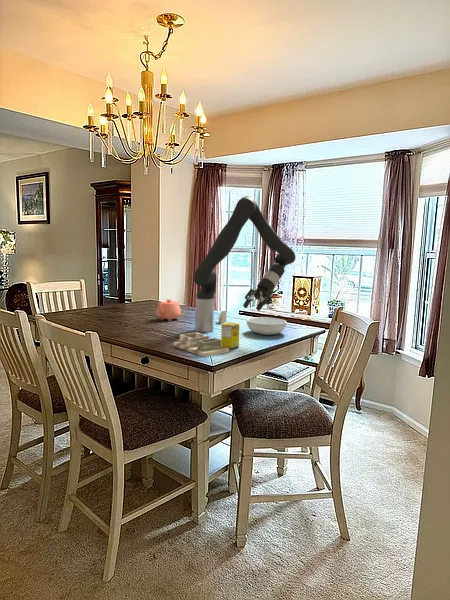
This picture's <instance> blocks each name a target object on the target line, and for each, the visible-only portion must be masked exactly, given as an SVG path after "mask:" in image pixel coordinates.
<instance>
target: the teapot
mask: <svg viewBox="0 0 450 600" xmlns="http://www.w3.org/2000/svg"><path fill="white" fill-rule="evenodd" d="M156 303H157V309H156V311H157V312H156V315H157V318H159V319H162V320H161V321H164V320H167V322H172V320H174V319H178V318H180V317H181V314H182V312H181V311H182V310H181V306H180V302H179V301H172V298H171V299H170V298H168V299H166V301H160V302H156Z"/></svg>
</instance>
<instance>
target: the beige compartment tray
mask: <svg viewBox="0 0 450 600" xmlns="http://www.w3.org/2000/svg"><path fill="white" fill-rule="evenodd" d="M178 337H179V340H178V341H173V346H174V347H176V348H178V349H180V350H181V349H182V350H184V351H187V352H190V353H192V354H194V355H197V356H199V357H203V358H205V357H210V356H214V355H219V354H224V353H229V352H230V349H229V348H227V347H224V346H221V339H219V338H216V337H212V338H210V336H209V335H207V334H203V333H202V332H198V331H197V332H196V331H195V332H189V333H183V334H179V336H178Z"/></svg>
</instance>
